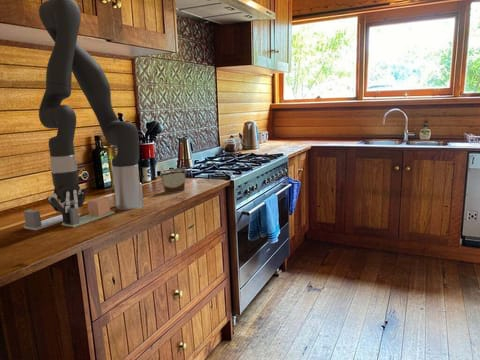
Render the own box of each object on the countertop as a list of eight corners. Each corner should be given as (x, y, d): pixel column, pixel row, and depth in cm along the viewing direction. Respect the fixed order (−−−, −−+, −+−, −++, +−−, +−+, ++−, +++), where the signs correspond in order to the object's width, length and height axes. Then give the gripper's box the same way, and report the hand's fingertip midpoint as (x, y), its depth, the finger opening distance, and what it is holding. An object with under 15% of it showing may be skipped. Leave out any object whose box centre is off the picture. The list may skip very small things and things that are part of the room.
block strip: (103, 211, 134) (101, 196, 133) (114, 213, 132) (113, 197, 131) (61, 225, 120) (59, 208, 119) (73, 227, 117) (71, 210, 116)
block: (100, 210, 133) (99, 197, 132) (110, 212, 130) (109, 198, 129) (89, 214, 129) (87, 200, 128) (99, 216, 126) (97, 202, 125)
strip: (70, 213, 133) (68, 198, 132) (81, 215, 130) (79, 200, 129) (23, 228, 118) (21, 211, 117) (35, 230, 115) (32, 213, 114)
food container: (182, 188, 175) (180, 167, 173) (187, 190, 170) (186, 169, 168) (157, 192, 168) (155, 170, 166) (162, 194, 163) (160, 172, 161)
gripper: (75, 165, 124) (81, 215, 127) (36, 172, 112) (44, 227, 115) (90, 166, 120) (96, 217, 124) (52, 174, 108) (59, 230, 112)
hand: (71, 222), depth 120 cm, fingers closed on block strip, 2 cm apart
